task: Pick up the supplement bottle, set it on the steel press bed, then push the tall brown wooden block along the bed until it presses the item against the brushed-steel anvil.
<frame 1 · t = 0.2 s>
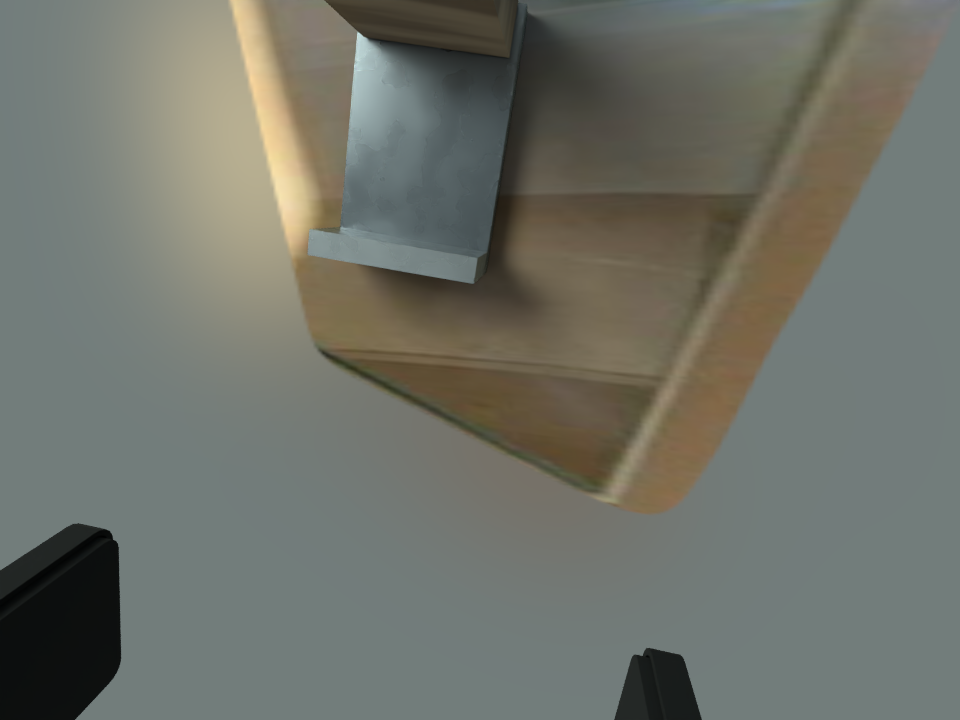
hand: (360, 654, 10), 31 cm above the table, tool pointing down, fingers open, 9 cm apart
press bed: (430, 138, 37), on the table
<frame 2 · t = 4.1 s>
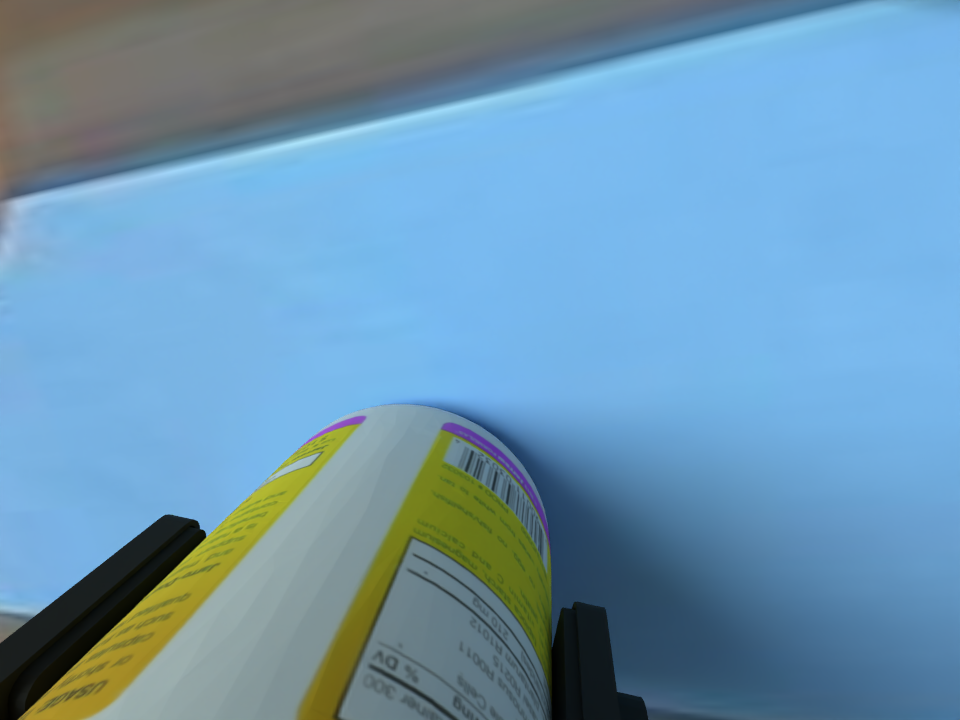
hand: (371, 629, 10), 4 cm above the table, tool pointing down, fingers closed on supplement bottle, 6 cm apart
supplement bottle: (419, 517, 14), on the table, touching gripper
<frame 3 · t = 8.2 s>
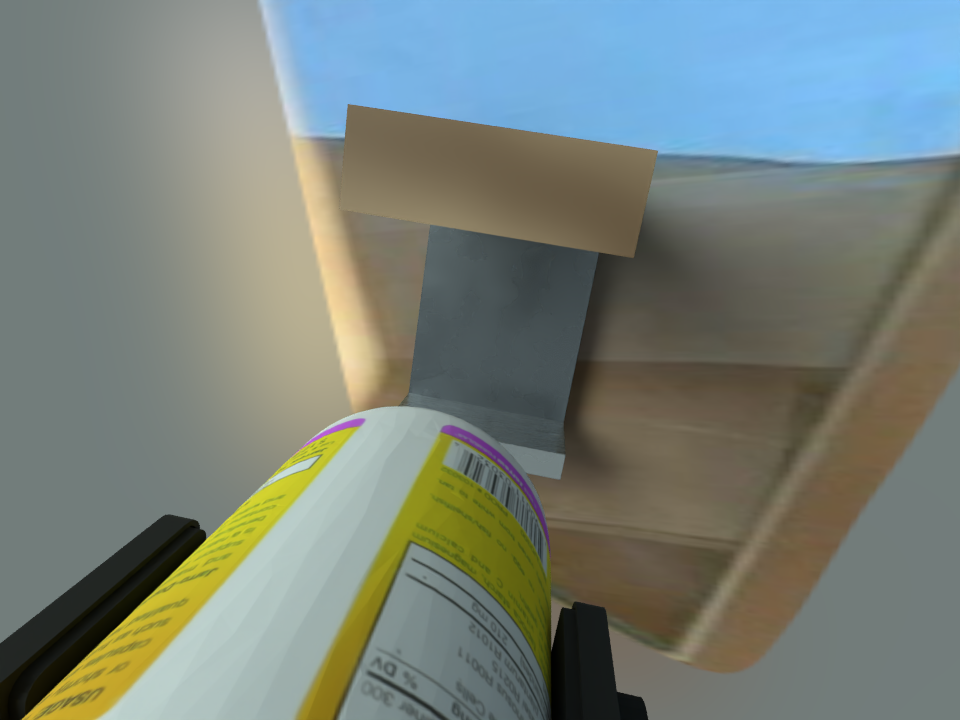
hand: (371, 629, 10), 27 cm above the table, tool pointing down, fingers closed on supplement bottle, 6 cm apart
brown wooden block: (510, 191, 24), point 10 cm above the table, slide at 0.0 cm
press bed: (504, 303, 36), on the table
supplement bottle: (418, 519, 14), point 23 cm above the table, touching gripper
when the fingers open (7 cm above the table, at t = 12.3 s): supplement bottle drops 1 cm, resting on press bed.
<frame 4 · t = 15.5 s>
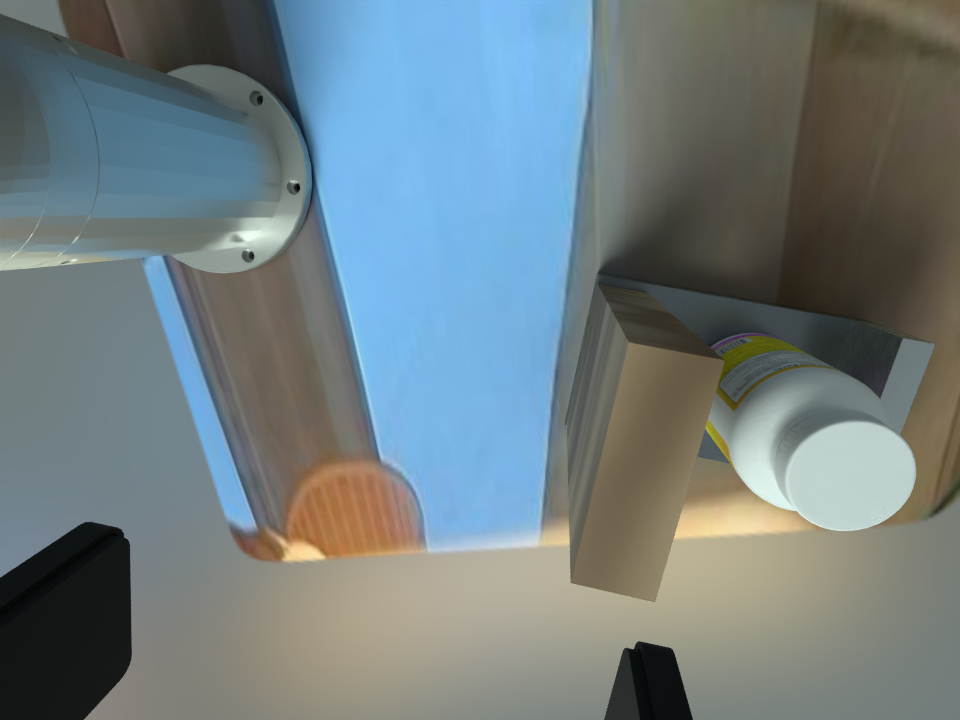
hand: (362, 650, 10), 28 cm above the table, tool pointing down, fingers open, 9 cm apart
brown wooden block: (618, 402, 27), point 10 cm above the table, slide at 0.0 cm
press bed: (706, 373, 36), on the table
supplement bottle: (742, 382, 34), point 1 cm above the table, touching press bed
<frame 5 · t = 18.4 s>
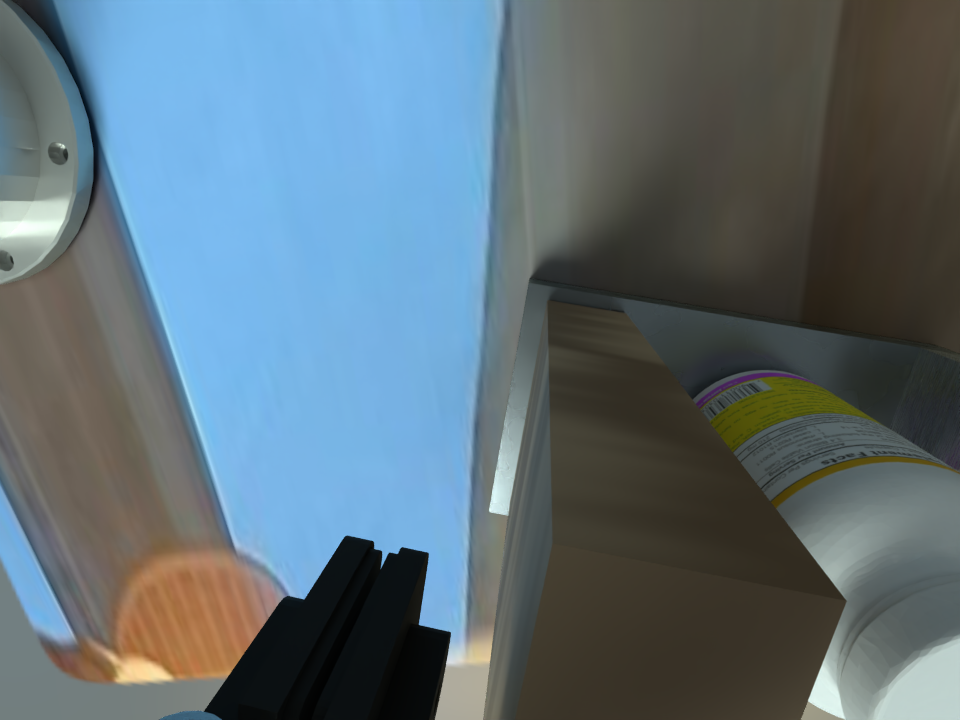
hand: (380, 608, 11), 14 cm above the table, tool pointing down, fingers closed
brown wooden block: (573, 525, 15), point 10 cm above the table, slide at 0.8 cm, touching gripper
press bed: (696, 425, 24), on the table
supplement bottle: (750, 442, 23), point 1 cm above the table, touching press bed
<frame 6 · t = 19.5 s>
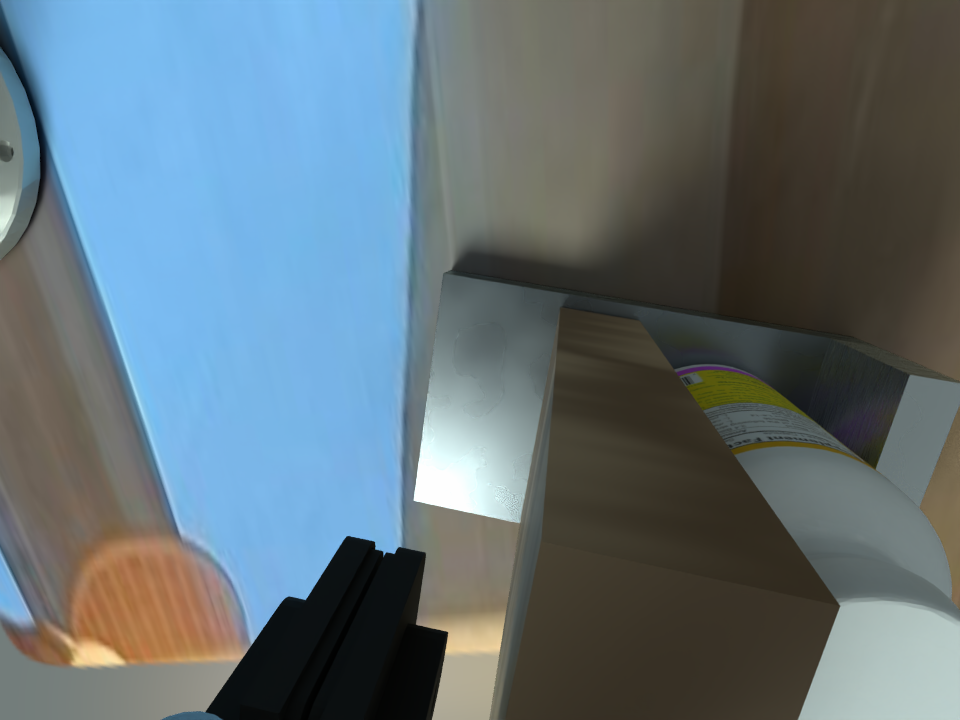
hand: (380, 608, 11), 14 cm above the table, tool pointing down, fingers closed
brown wooden block: (581, 532, 15), point 10 cm above the table, slide at 4.7 cm, touching supplement bottle, gripper
press bed: (618, 417, 24), on the table
supplement bottle: (698, 438, 22), point 1 cm above the table, touching press bed, brown wooden block
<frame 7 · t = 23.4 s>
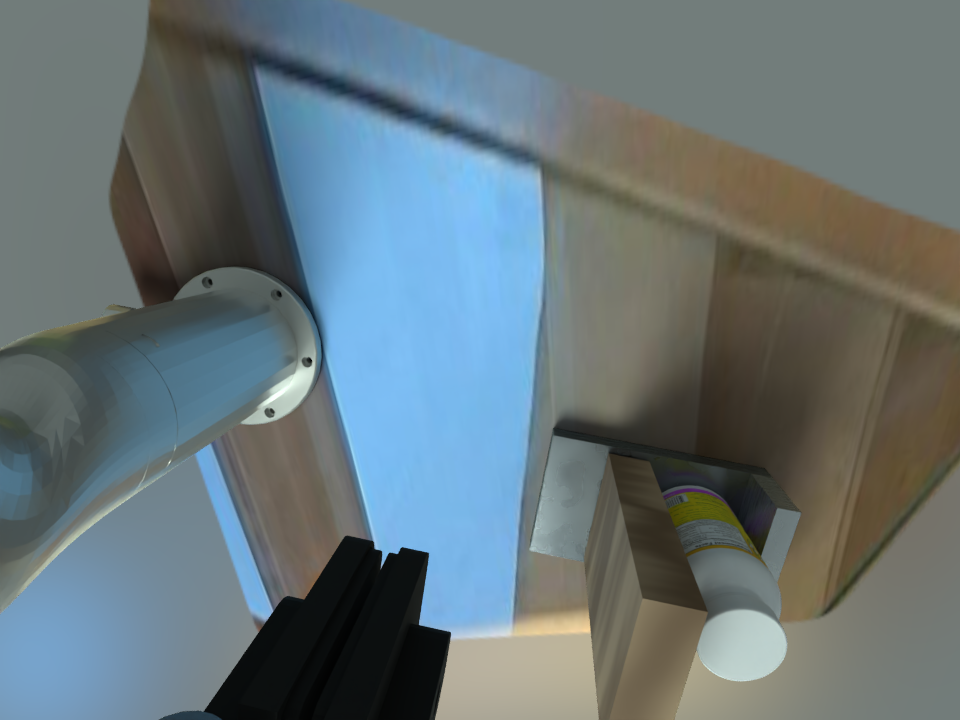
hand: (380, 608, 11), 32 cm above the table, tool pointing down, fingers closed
brown wooden block: (629, 577, 35), point 10 cm above the table, slide at 4.2 cm
press bed: (642, 505, 44), on the table
supplement bottle: (686, 519, 43), point 1 cm above the table, touching press bed
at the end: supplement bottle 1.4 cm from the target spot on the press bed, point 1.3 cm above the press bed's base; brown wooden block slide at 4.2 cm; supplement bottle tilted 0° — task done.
